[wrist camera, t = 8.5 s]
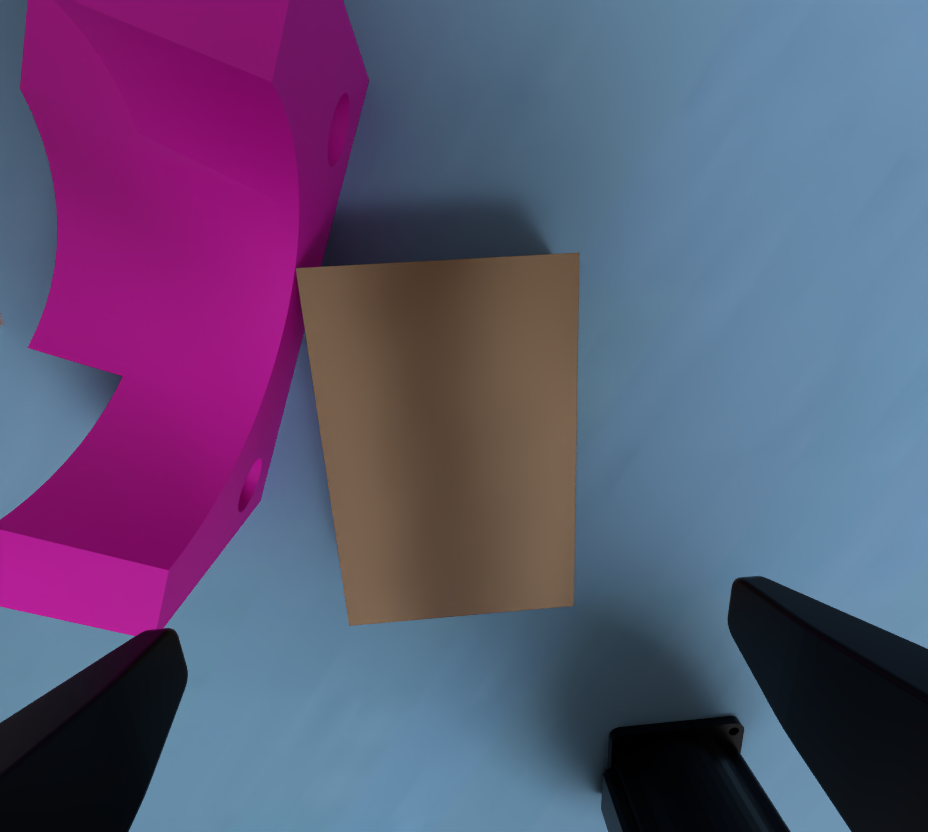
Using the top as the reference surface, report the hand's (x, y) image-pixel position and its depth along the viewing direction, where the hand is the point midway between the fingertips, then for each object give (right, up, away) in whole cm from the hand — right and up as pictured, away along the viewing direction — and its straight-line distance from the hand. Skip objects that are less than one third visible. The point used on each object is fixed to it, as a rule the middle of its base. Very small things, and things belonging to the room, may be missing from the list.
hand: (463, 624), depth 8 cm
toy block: (-8, +8, +9) cm, 15 cm away
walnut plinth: (-1, +3, +10) cm, 11 cm away
